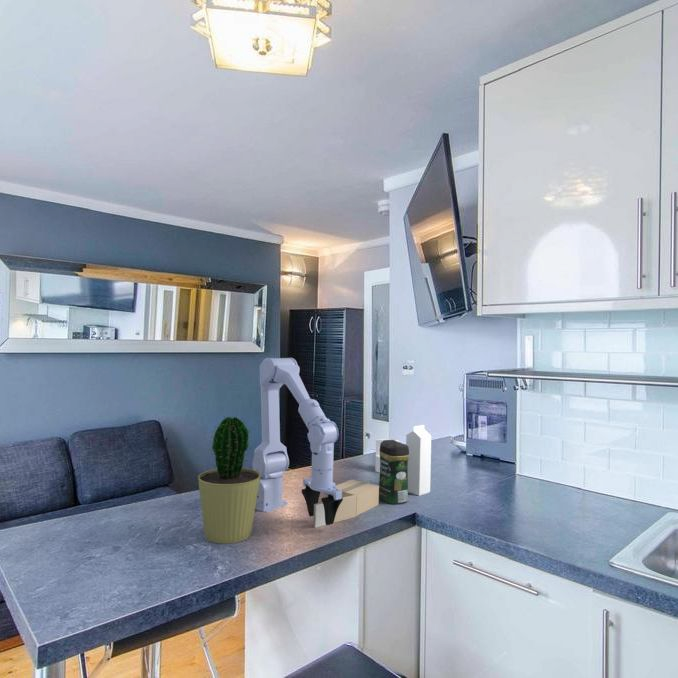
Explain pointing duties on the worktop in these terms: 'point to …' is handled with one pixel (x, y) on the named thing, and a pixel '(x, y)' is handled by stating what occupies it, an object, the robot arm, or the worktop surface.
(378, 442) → the cylinder with rectangular tab
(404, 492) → the coffee jar
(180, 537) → the worktop surface
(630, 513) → the worktop surface
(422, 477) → the milk
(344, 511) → the beige rectangular panel
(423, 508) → the worktop surface
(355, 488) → the carton
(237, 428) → the potted cactus
